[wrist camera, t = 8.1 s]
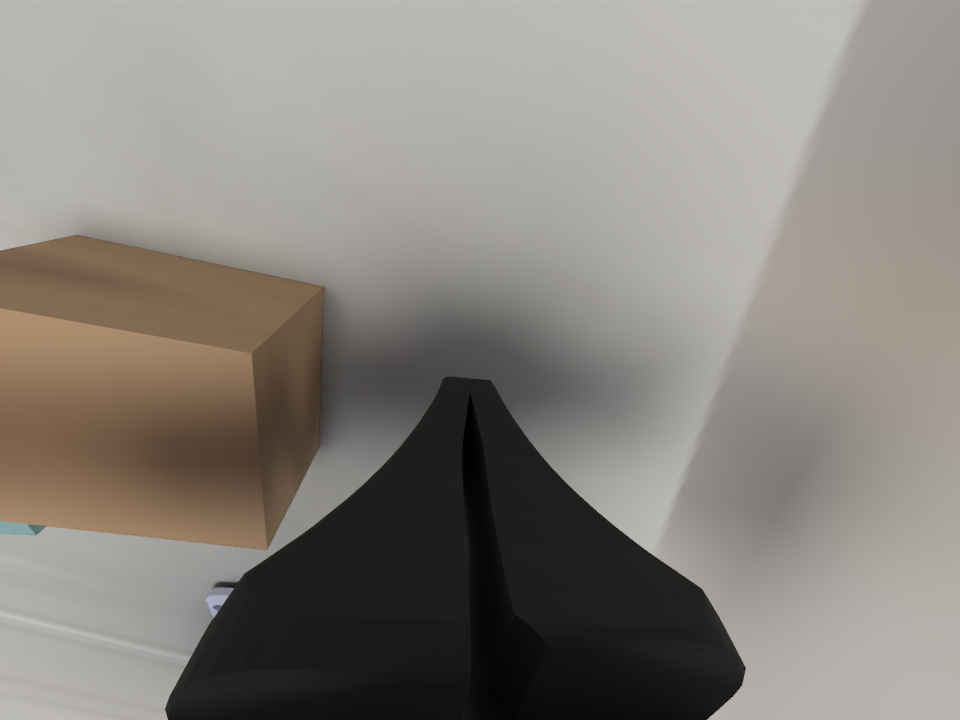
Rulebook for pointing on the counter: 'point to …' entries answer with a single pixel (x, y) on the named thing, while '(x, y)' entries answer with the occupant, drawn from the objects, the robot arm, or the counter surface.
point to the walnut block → (154, 392)
